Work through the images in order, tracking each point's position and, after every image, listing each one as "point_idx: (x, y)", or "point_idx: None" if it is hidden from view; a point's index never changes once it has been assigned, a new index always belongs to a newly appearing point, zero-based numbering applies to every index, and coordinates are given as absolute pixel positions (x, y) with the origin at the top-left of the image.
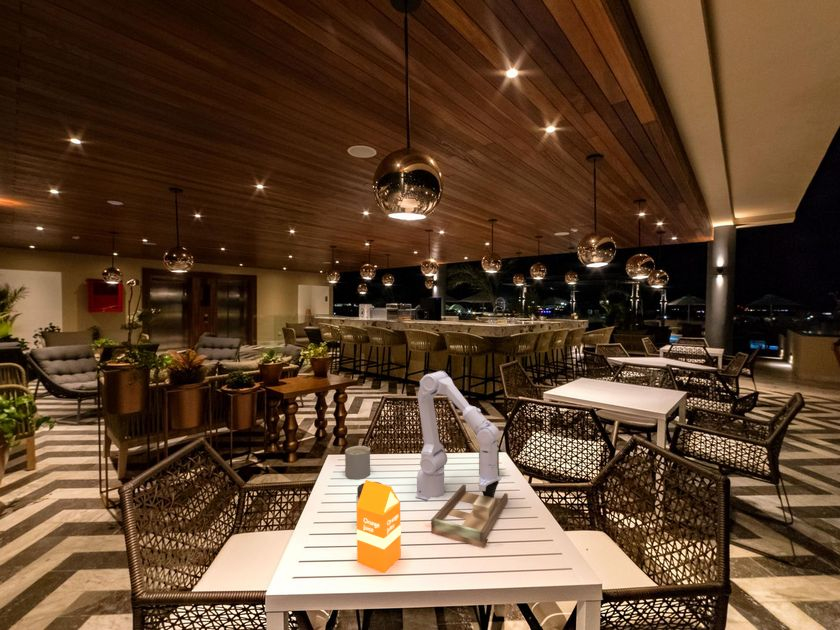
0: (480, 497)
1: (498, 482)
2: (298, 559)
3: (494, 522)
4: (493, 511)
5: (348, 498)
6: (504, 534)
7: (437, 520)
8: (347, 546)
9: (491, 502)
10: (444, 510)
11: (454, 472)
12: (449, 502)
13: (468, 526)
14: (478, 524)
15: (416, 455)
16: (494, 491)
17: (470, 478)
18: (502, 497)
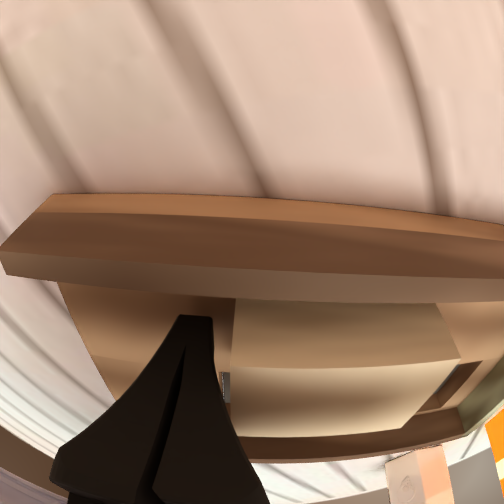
0: (276, 430)
1: (76, 481)
2: (487, 446)
3: (458, 241)
4: (421, 300)
5: (305, 494)
6: (485, 143)
7: (477, 426)
8: (472, 441)
9: (355, 371)
10: (393, 443)
11: (22, 407)
12: (332, 457)
13: (470, 342)
14: (456, 314)
15: (44, 450)
16: (161, 413)
17: (4, 375)
18: (81, 281)
